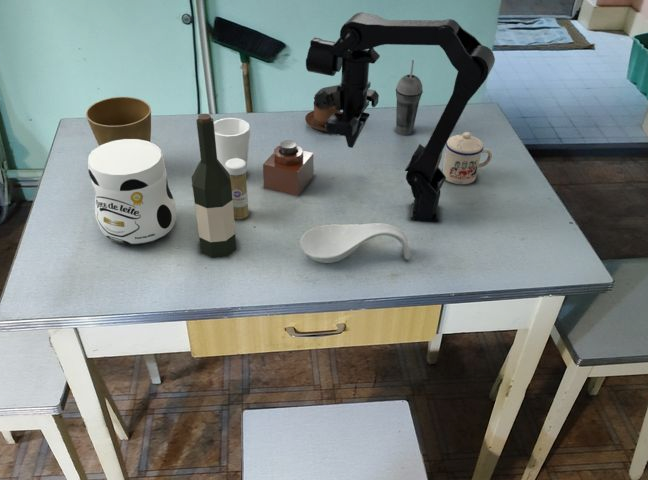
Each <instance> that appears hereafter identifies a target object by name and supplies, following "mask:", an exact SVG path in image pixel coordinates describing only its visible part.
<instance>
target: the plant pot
mask: <svg viewBox="0 0 648 480" xmlns="http://www.w3.org/2000/svg"><path fill="white" fill-rule="evenodd" d="M85 117H86V120H87V122H88V125H89V127H90V129H91V131H92V134H93V136H94V138H95V141H96V142H97V144H98V147H99V146H100V145H102V144H105V143H108V142H111V141H116V140H122V139H139V140H144V141H149V142H151V137H152V107H151V105H150V104H149V103H148V102H146V101H145V100H142V99H140V98H137V97H131V96H113V97H108V98H104V99H101V100H98V101H96V102H94V103H93V104H91V105H90V106H89V107H88V108H87V109H86V111H85Z"/></svg>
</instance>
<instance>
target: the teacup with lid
mask: <svg viewBox="0 0 648 480" xmlns="http://www.w3.org/2000/svg"><path fill="white" fill-rule="evenodd" d="M445 146H446V149H445V155H444V160H443V167H442V172H443V174H444V175H445V176H446V179H445V181H447V182H449V183H451V184H455V185H468V184H472V183H473V182H475V180H476V179H477V176H478V171H479V169H481V168H484V167H486V166H488V164H489V163H490V162H491V161H492V158H493V153H492V151H491V150H490V149H489V148H484V144H483V142H482V140H480V139H479V138H477V137H476V136H473V135H472V134H471V132H469V131H464V132H463V133H462V134H455V135H452V136H450V137H449V139H448V141H447V143H446V145H445ZM484 153H485V154H487V158H486V159H485V161H483V162H481V163H480V161H481V157H482V154H484Z"/></svg>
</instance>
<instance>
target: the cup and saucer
mask: <svg viewBox="0 0 648 480" xmlns="http://www.w3.org/2000/svg"><path fill="white" fill-rule="evenodd" d="M342 112H343V111H341V110H335V106H333V107H328V108H324V109H322V110H319V108H317V107H316V105H314V104H313V110H312V111H309V112H308V113H307V114H306V115H305V119H304V120H305V123H306V124H307V125H308V126H309V127H310V128H311V129H314V130H317V131H322V132H326V131H325V122H326V121H327V120H328V119H329V118H330V117H331V116H332V115H333V114H334V113H339V114H341V113H342Z"/></svg>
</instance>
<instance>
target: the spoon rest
mask: <svg viewBox="0 0 648 480" xmlns="http://www.w3.org/2000/svg"><path fill="white" fill-rule="evenodd" d="M379 236H387V237H391V238H394V239H396V240H397V241H398V242H399V243H400V244H401V246H402V247H401V248H402V255H403V258H404V259H405V260H410V257H411V251H410V247H409V241H408V236H407V235H406V233H405V232H404V231H403V230H402V229H400V228H399V227H397V226H394V225H391V224H388V223H380V222H376V223H372V222H371V223H357V224H355V223H351V224H340V223H339V224H324V225H318V226H316V227H315V226H314V227H313V228H311V229H309V230H307V231H305V232H304V234H303V235H302V237H301V238H300V242H299V243H300V244H299V245H300V249H301V251H302V252H303V253H304V254H305V256H307V257H308V258H309V259H311V260H312V261H315V262H317V263H323V264H334V263H339V262H340V261H342V260H344V259H346V258H347V257H348V256H350V255H351V254H352V253H353V252H355V251H356V250H357V249H358V248H360V247H361V246H363V244H365V243H366V242H368V241H369V240H371V239H373V238H375V237H379Z"/></svg>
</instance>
